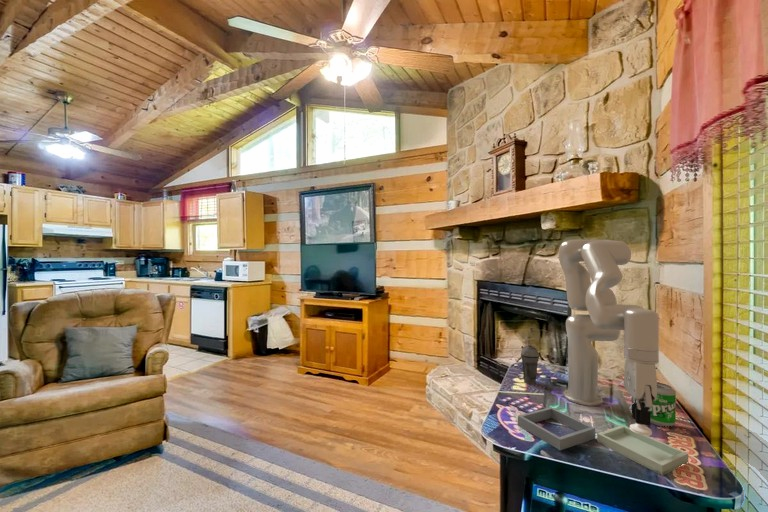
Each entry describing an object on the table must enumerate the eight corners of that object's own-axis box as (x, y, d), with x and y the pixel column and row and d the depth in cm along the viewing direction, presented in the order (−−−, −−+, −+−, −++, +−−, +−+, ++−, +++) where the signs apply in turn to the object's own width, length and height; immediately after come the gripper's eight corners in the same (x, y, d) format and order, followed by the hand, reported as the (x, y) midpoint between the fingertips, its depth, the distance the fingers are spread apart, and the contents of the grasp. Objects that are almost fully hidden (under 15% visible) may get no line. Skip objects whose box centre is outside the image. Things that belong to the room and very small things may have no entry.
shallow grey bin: (550, 415, 112) (551, 406, 112) (595, 438, 98) (595, 428, 98) (517, 425, 105) (517, 415, 105) (560, 450, 92) (560, 439, 92)
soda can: (639, 417, 111) (639, 381, 111) (660, 416, 112) (660, 380, 112) (659, 429, 103) (660, 390, 103) (682, 428, 104) (682, 389, 104)
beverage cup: (541, 386, 137) (541, 337, 137) (522, 384, 138) (522, 336, 138) (536, 379, 144) (537, 333, 144) (518, 378, 146) (519, 332, 145)
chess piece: (631, 424, 95) (631, 389, 95) (653, 431, 91) (653, 394, 91) (627, 430, 91) (627, 394, 91) (650, 437, 88) (650, 399, 88)
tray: (622, 433, 101) (622, 424, 101) (688, 463, 86) (688, 453, 86) (597, 442, 96) (597, 433, 96) (662, 475, 81) (662, 465, 81)
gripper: (615, 345, 100) (615, 407, 100) (634, 361, 85) (634, 433, 85) (646, 348, 97) (646, 411, 97) (671, 364, 82) (671, 439, 82)
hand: (640, 421), depth 91 cm, fingers closed on chess piece
